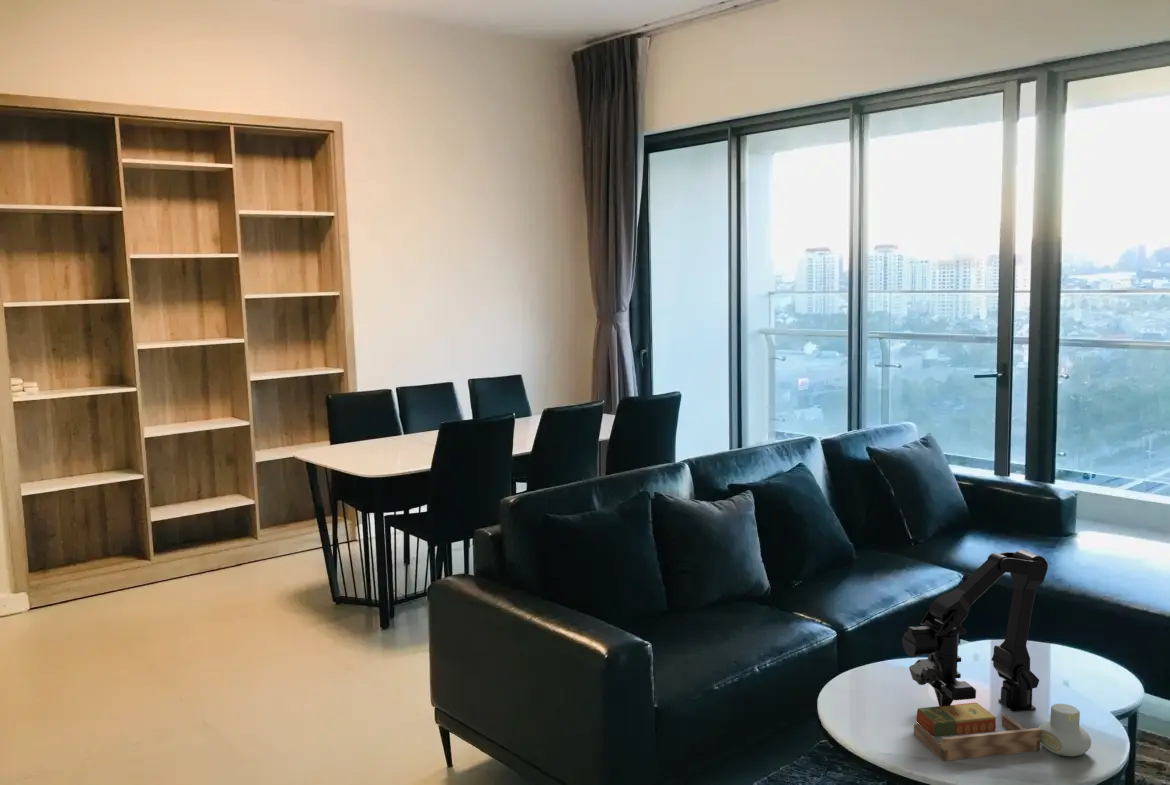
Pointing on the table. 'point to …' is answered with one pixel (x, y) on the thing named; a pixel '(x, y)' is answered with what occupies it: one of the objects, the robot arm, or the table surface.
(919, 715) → the carton
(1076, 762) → the table surface
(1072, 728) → the air freshener
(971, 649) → the table surface
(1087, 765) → the table surface
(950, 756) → the frame
